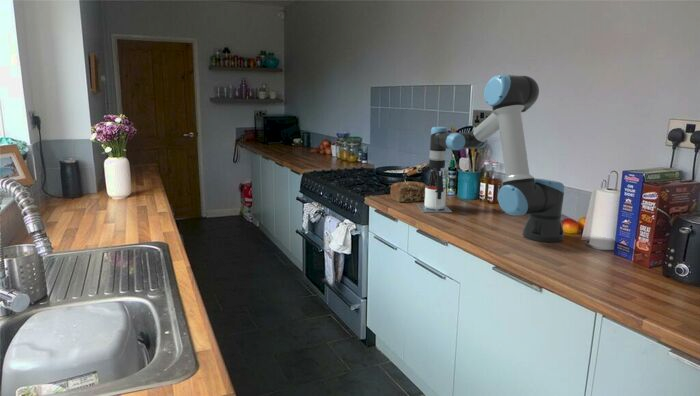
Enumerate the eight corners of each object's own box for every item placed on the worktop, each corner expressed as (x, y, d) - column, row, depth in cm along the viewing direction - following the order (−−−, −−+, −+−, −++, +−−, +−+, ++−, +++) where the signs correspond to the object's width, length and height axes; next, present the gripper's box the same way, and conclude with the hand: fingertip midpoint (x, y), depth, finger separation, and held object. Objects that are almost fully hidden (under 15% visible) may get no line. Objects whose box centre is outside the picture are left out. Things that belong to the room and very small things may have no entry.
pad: (452, 212, 224) (452, 211, 224) (423, 212, 223) (423, 211, 223) (444, 206, 238) (444, 204, 238) (417, 206, 237) (417, 204, 237)
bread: (398, 203, 243) (399, 184, 241) (389, 199, 253) (389, 180, 251) (429, 200, 250) (430, 182, 248) (419, 196, 260) (420, 179, 258)
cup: (446, 210, 225) (447, 190, 223) (425, 210, 226) (426, 189, 223) (442, 205, 235) (444, 186, 233) (423, 205, 235) (424, 185, 233)
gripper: (452, 163, 213) (449, 208, 218) (438, 156, 238) (436, 197, 242) (435, 162, 213) (433, 208, 217) (424, 155, 237) (421, 196, 242)
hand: (434, 202), depth 230 cm, fingers open, 13 cm apart
